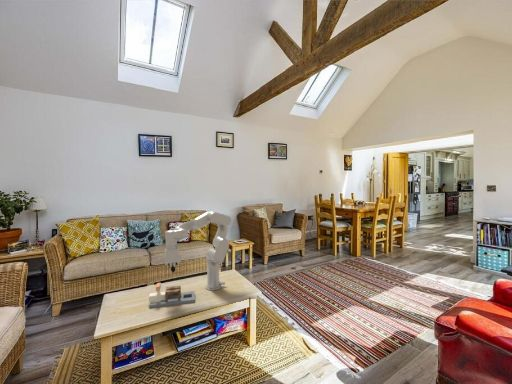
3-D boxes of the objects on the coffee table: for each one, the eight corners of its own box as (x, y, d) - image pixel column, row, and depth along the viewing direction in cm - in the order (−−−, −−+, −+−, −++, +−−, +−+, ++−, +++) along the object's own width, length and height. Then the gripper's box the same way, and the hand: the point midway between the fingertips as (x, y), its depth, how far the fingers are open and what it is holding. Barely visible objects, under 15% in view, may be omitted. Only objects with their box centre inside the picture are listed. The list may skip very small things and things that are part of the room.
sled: (168, 296, 179) (167, 281, 179) (167, 300, 172) (166, 285, 172) (150, 298, 176) (150, 283, 176) (148, 302, 169) (148, 287, 169)
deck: (194, 293, 188) (194, 290, 187) (194, 302, 174) (194, 299, 174) (152, 298, 180) (152, 295, 180) (149, 308, 166) (149, 305, 166)
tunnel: (180, 294, 182) (180, 285, 182) (180, 299, 174) (180, 290, 174) (166, 295, 180) (166, 287, 180) (165, 301, 171) (165, 292, 171)
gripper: (182, 244, 183) (184, 268, 184) (161, 247, 179) (163, 271, 180) (182, 247, 176) (183, 272, 177) (160, 249, 172) (161, 275, 173)
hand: (173, 271), depth 178 cm, fingers closed
